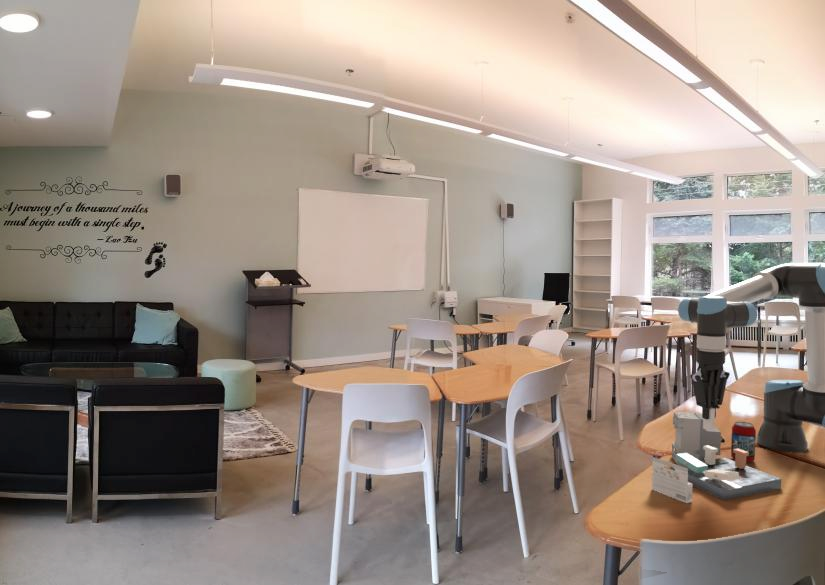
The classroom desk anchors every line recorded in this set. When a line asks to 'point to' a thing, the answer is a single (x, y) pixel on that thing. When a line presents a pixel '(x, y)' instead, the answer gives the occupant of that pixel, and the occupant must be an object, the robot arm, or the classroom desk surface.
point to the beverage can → (744, 439)
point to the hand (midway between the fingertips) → (708, 429)
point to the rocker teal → (691, 462)
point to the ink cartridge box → (671, 481)
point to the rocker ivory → (722, 475)
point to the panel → (733, 481)
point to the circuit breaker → (693, 436)
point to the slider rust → (740, 458)
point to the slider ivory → (710, 454)
